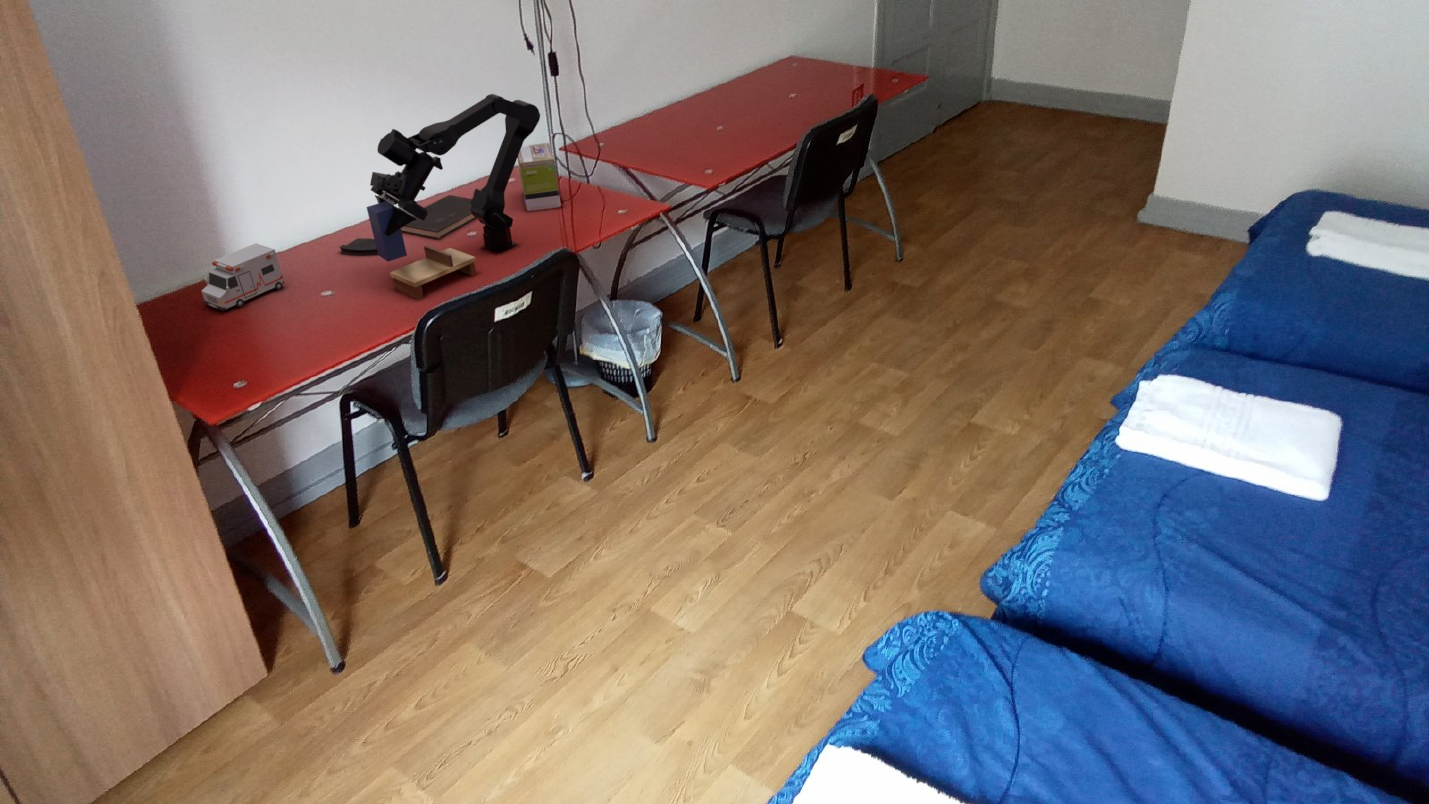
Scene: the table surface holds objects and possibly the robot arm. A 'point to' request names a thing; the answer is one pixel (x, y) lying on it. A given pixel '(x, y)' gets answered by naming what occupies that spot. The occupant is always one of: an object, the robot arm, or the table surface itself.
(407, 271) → the wooden stand
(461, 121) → the robot arm
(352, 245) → the fan shaped piece
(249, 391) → the table surface
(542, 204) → the tea box
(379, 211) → the navy carton
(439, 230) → the hardcover book
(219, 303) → the toy vehicle
